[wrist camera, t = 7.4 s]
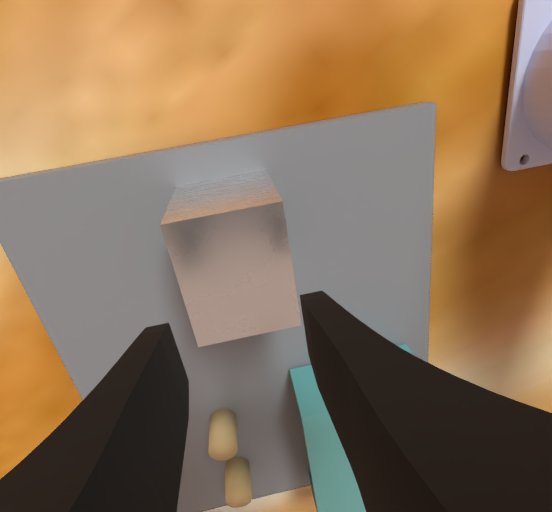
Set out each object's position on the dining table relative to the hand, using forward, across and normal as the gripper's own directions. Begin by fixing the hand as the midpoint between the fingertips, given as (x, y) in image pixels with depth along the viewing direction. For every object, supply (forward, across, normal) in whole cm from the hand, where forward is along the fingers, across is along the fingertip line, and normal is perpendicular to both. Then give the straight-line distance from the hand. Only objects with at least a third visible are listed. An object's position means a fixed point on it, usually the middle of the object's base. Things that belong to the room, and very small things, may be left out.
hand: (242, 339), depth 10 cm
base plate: (+9, 0, +8) cm, 12 cm away
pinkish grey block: (+8, 0, 0) cm, 8 cm away
